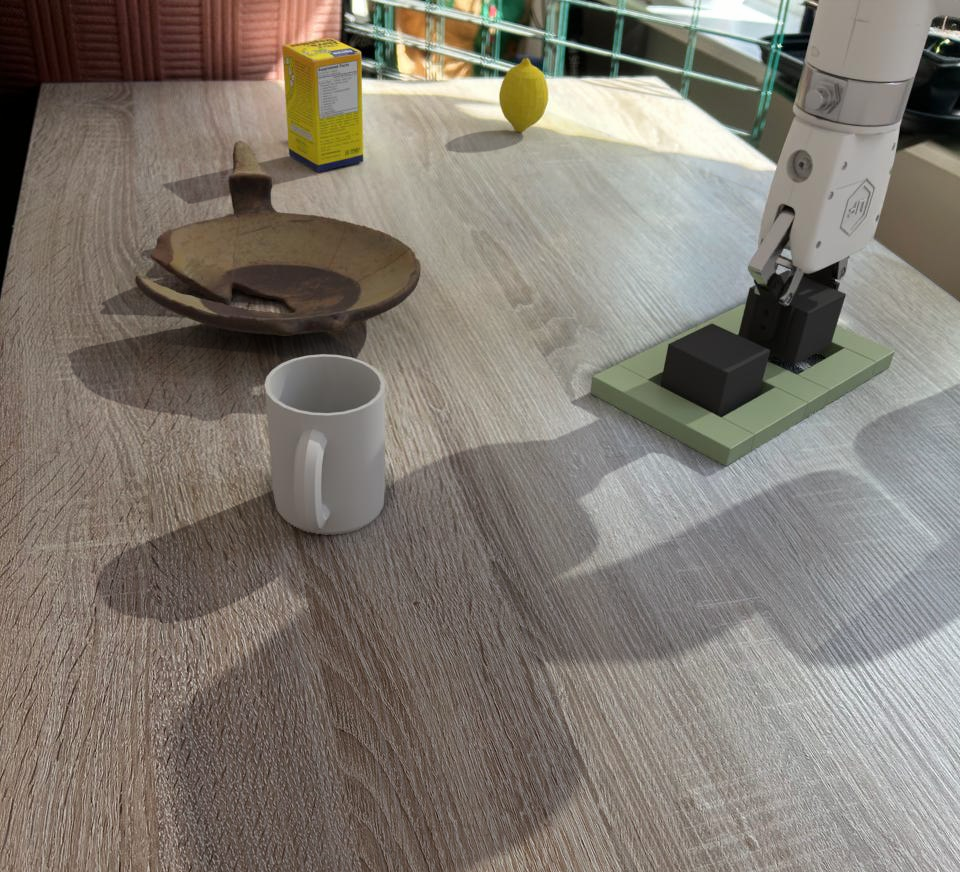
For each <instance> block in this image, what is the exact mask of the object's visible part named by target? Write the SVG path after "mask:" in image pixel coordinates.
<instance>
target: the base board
mask: <svg viewBox="0 0 960 872" xmlns="http://www.w3.org/2000/svg"><path fill="white" fill-rule="evenodd" d="M745 305H746V302H745V303H742V304H740V305H738V306H736V307H734V308H732V309H730V310H727V311H725V312H724V313H721V314H719V315H717V316H715V317H713V318H711V319H709V320H707V321H705V322H702V323H700V324H698V325H696V326H694V327H693V328H690V329H688V330H686V331H684V332H682V333H680V334H677V335H676V336H674V337H672V338H670V339H666V340H665V341H663V342H661V343H659V344H657V345H655V346H652V347H651V348H649V349H647V350H644V351H642V352H640V353H638V354H635V355H634V356H631V357H630V358H628V359H625V360H623V361H621V362H619V363H618V364H615V365H613V366H611V367H609V368H607V369H604V370H603V371H600V372H598V373H596V374H594V375H592V378H591V384H590V390H589V391H590V392H589V393H590V394H591V395H592V396H595V397H596V398H598V399H600V400H602V401H604V402H606V403H608V404H609V405H611V406H613V407H614V408H617V409H619V410H621V411H623V412H624V413H626V414H627V415H629V416H632V417H633V418H635V419H637V420H639V421H641V422H643V423H645V424H647V425H648V426H650V427H652V428H654V429H656V430H658V431H659V432H661V433H663V434H665V435H667V436H668V437H671V438H673V439H674V440H677V441H678V442H680V443H682V444H684V445H685V446H687V447H689V448H691V449H693V450H695V451H696V452H698V453H700V454H702V455H704V456H705V457H707V458H709V459H711V460H713V461H716V462H717V463H718V464H719V463H720V464H721V465H723V466H724V467H727V466H729V465H730V464H732V463H734V462H736V461H738V460H739V459H741V458H742V457H744V456H745V455H747V454H749V453H750V452H752V451H753V450H755V449H757V448H759V447H761V446H762V445H764V444H765V443H767V442H768V441H770V440H772V439H773V438H775V437H777V436H778V435H780V434H781V433H784V432H785V431H787V430H788V429H790V428H792V427H793V426H795V425H796V424H798V423H800V422H801V421H804V420H805V419H806V418H808V417H810V416H811V415H813V414H815V413H816V412H818V411H820V410H821V409H823V408H825V407H827V405H829V404H831V403H832V402H834V401H837V400H838V399H839V398H841V397H843V396H844V395H846V394H848V393H850V392H851V391H853V390H855V389H856V388H857V387H859V386H861V385H862V384H865V383H866V382H867V381H869V380H871V379H872V378H874V377H876V376H877V375H878V374H880V373H882V372H883V371H885V370H888V369H889V368H890V367H891V363H892V361H893V358H894V355H895V351H896V350H894V349H892V348H890V347H887V346H884V345H883V344H881V343H877V342H875V341H873V340H871V339H868V338H866V337H864V336H862V335H860V334H857V333H855V332H852V331H850V330H848V329H845V328H843V327H841V326H838V325H837V326H836V329H835V332H834V336H833V339H832V342H831V345H830V346H829V347H827V348H825V349H823V350H822V351H820V352H818V353H816V354H817V355H818V356H821V357H824V359H822V360H821V361H819V362H816V363H815V364H814V365H812V366H810V367H808V368H806V369H805V370H803V371H801V372H799V373H794V372H792V371H790V370H788V369H785V368H784V367H782V366H779V365H777V364H775V363H772V362H770V361H769V360H768V361H767V365H766V369H765V373H764V376H763V380H762V384H761V388H760V392H759V395H758V397H757V398H755V399H753V400H752V401H750V402H748V403H746V404H744V405H743V406H741V407H739V408H737V409H736V410H734V411H732V412H730V413H729V414H727V415H725V416H723V417H722V418H721V417H719V416H717V415H715V414H713V413H711V412H709V411H707V410H705V409H704V408H702V407H700V406H698V405H696V404H694V403H692V402H690V401H688V400H686V399H684V398H682V397H680V396H678V395H676V394H674V393H672V392H670V391H668V390H667V389H665V388H663V387H661V386H660V385H661V380H662V374H663V369H664V364H665V359H666V354H667V349H668V344H670V343H672V342H674V341H676V340H678V339H680V338H682V337H684V336H686V335H688V334H690V333H692V332H695V331H697V330H699V329H701V328H703V327H705V326H707V325H709V324H711V323H713V324H715V325H717V326H719V327H721V328H723V329H726V330H728V331H730V332H732V333H734V334H736V335H738V334H739V330H740V326H741V322H742V317H743V313H744V309H745Z"/></svg>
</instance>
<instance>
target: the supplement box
mask: <svg viewBox="0 0 960 872" xmlns="http://www.w3.org/2000/svg"><path fill="white" fill-rule="evenodd" d="M281 48H282V49H281V50H282V62H283V63H282V64H283V78H284V79H283V80H284V97H285V111H286V125H287V126H286V127H287V144H288V156H289V157H290V158H292V159H294V160H296V161H297V162H300V163H301V164H302V165H304V166H306V167H308V168H310V169H311V170H314V171H316V172H317V173H320V172H325V171H328V170H332V169H336V168H341V167H345V166H348V165H353V164H359V163H363V162H364V128H363V127H364V124H363V123H364V122H363V121H364V120H363V118H364V117H363V78H362V77H363V76H362V75H363V73H362V71H363V70H362V68H363V67H362V51H361V50H359V49H357V48H354V47H352V46H349V45H348V44H346V43H343V42H341V41H338V40H337V39H335V38H332V37H326V38H320V39H314V40H313V39H312V40H306V41H301V42H300V41H299V42H295V43H294V42H293V43H288V44H287V43H286V44H282V45H281Z"/></svg>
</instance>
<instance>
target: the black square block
mask: <svg viewBox="0 0 960 872" xmlns="http://www.w3.org/2000/svg"><path fill="white" fill-rule="evenodd" d="M790 271H791V270H790V269H787V270H784V271H783V272H781V273H778V274H779V275H781V277H782V279H783V282H784V284H785V283H786V281H787V278H788V276H789V274H790ZM755 287H756V285H755V284H754V285H753V286H751V287H749V289H748V292H747V298H746V301H745V303H746V305H745V309H744V313H743V317H742V322H741V326H740V330H739V334H738V335H739V336H741V337H743V338H745V339H747V340H749V339H748V338H747V333H748V329H749V325H750V321H751V317H752V313H753V309H754V305H755V301H756V297H757V294H755ZM846 295H847V294H846V293H845V292H843V291H840V290H839V289H838V290H835V289H833V288H830V287H828V286H826V285H823V284H821V283H818V282H816V281H814V280H811V279H809V278H807V277H804V276H802V278H801V281H800V283H799V285H798V288H797V290H796V292H795V295H794V297H793V299H792V301H791V303H793V304H796V307H795V311H794V314H793V318H792V321H791V325H790V329H789V332H788V336H787V340H786V343H785V347H784V349H783V350H782V351H780V352H778V353H776V352H774V351H771V350H770V354H769V356H771V357H772V358H776V359H777V360H779V361H782V362H783V363H786V364H788V365H790V366H793V367H794V366H797V365H798V364H800V363H802V362H804V361H805V360H807V359H809V358H811V357H812V356H814V355H816V354H817V353H818V352H820V351H822V350H823V349H825V348H827V347H829V346H830V345H831V342H832V339H833V336H834V332H835V329H836V326H838V322H839V319H840V316H841V313H842V309H843V307H844V302H845V299H846ZM749 341H750V340H749ZM751 342H752V341H751ZM758 345H759V344H758ZM760 346H761V345H760ZM762 347H763V346H762ZM764 348H765V347H764Z"/></svg>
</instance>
